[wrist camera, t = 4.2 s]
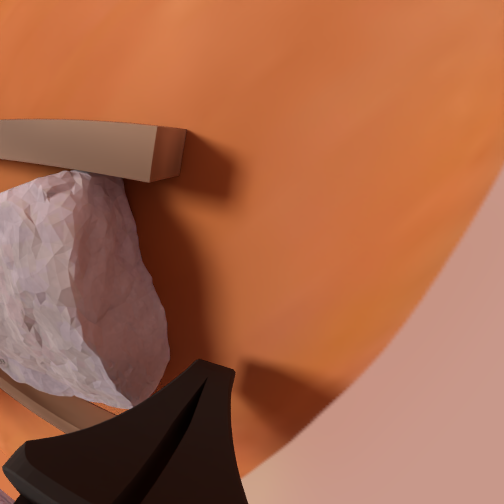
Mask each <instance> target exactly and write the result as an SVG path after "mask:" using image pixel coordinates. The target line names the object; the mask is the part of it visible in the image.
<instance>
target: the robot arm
mask: <svg viewBox="0 0 504 504" xmlns="http://www.w3.org/2000/svg"><path fill="white" fill-rule="evenodd" d="M235 373H236V372H235V371H234V370H233V369H231V368H227V367H224V366H221V365H217V364H214V363H211V362H208V361H204V360H201V359H198V360H196V361H195V362H193V363H192V364H191V365H190V366H189V367H188V368H187V369H186V370H185V371H184V372H182V373H181V374H180V375H179V376H178V377H176V378H175V379H174V380H173V381H171V382H170V383H169V384H167V385H166V386H165V387H163V388H162V389H161V390H159V391H158V392H157V393H155V394H154V395H152V396H150V397H149V398H147V399H146V400H144V401H143V402H141V403H140V404H138V405H136V406H134V407H133V408H131V409H129V410H127V411H125V412H123V413H121V414H119V415H117V416H115V417H113V418H111V419H108V420H106V421H104V422H101V423H99V424H96V425H94V426H91V427H88V428H85V429H81V430H78V431H75V432H71V433H68V434H64V435H60V436H55V437H49V438H43V439H37V440H30V441H26V442H25V443H24V444H23V445H22V446H20V447H19V448H18V449H17V450H16V451H15V453H14V454H13V455H12V456H11V457H10V458H9V460H8V461H7V462H6V463H5V464H4V465H3V467H2V468H3V472H4V474H5V476H6V477H7V478H8V479H9V481H10V482H11V483H12V485H13V486H14V487H15V488H16V489H17V491H18V492H19V493H20V496H19V497H18V498H17V500H16V501H14V500H13V499H12V498H10V497H9V496H8V495H7V494H6V493H4V492H3V491H2V490H1V489H0V504H248V502H247V499H246V495H245V492H244V489H243V486H242V482H241V479H240V475H239V471H238V467H237V462H236V457H235V452H234V446H233V438H232V428H231V391H232V386H233V382H234V378H235Z"/></svg>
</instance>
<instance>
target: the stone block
mask: <svg viewBox="0 0 504 504" xmlns="http://www.w3.org/2000/svg"><path fill="white" fill-rule="evenodd" d="M169 360H170V348H169V344H168V336H167V320H166V316H165V310H164V307H163V306H162V304H161V302H160V299H159V297H158V295H157V293H156V291H155V288H154V286H153V283H152V277H151V275H150V274H149V272H148V271H147V269H146V267H145V266H144V264H143V262H142V258H141V253H140V249H139V240H138V235H137V230H136V224H135V220H134V218H133V215H132V212H131V209H130V206H129V203H128V200H127V197H126V194H125V190H124V183H123V179H122V177H116V176H110V175H105V174H99V173H93V172H87V171H81V170H72V171H62V172H59V173H57V174H52V175H48V176H45V177H40V178H36V179H34V180H32V181H30V182H28V183H25V184H22V185H19V186H17V187H14V188H11V189H9V190H7V191H4V192H2V193H0V368H1V369H2V370H3V371H4V372H5V373H7V374H8V375H9V376H10V377H11V378H12V379H14V380H15V381H16V382H19V383H26V384H28V385H30V386H32V387H33V388H35V389H37V390H39V391H42V392H45V393H48V394H52V395H57V396H69V397H72V396H74V395H75V396H77V397H79V398H82V399H84V400H87V401H92V402H98V403H104V404H106V405H108V406H112V407H116V408H123V409H131V408H133V407H134V406H136V405H138V404H140V403H141V402H143V401H144V400H146V399H147V398H149V397H150V395H151V394H152V393H153V392H154V391H155V390H156V388H157V386H158V385H159V382H160V380H161V378H162V377H163V374H164V372H165V369H166V366H167V364H168V362H169Z"/></svg>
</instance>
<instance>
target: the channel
mask: <svg viewBox="0 0 504 504" xmlns="http://www.w3.org/2000/svg"><path fill="white" fill-rule="evenodd" d="M186 131H187V129H180V128H172V127H164V126H155V125H145V124H135V123H123V122H109V121H93V120H69V119H8V120H0V159H6V160H13V161H21V162H28V163H35V164H42V165H49V166H55V167H62V168H68V169H75V170H81V171H87V172H93V173H99V174H105V175H110V176H116V177H122V178H127V179H132V180H138V181H143V182H149V183H150V182H154V181H158V180H162V179H166V178H171V177H175V176H179V174H180V167H181V161H182V155H183V149H184V143H185V137H186ZM0 388H1V389H2V390H3V391H5V392H6V393H7V394H9V395H10V396H11V397H12V398H14V399H15V400H17V401H18V402H19V403H21V404H22V405H23V406H25V407H26V408H28V409H29V410H30V411H32V412H33V413H35V414H36V415H38V416H39V417H41V418H42V419H44V420H45V421H47V422H48V423H50V424H51V425H53V426H55V427H56V428H58V429H59V430H61V431H63V432H64V433H66V434H68V433H71V432H75V431H78V430H81V429H85V428H88V427H91V426H94V425H96V424H99V423H101V422H104V421H106V420H108V419H111V418H113V417H115V416H116V415H114V414H112V413H110V412H108V411H105V410H103V409H101V408H99V407H97V406H95V405H93V404H91V403H89V402H88V401H86V400H84V399H82V398H79V397H77V396H75V395H74V396H72V397H69V396H57V395H52V394H48V393H45V392H42V391H39V390H37V389H35V388H33V387H32V386H30V385H28V384H26V383H19V382H16V381H15V380H14V379H12V378H11V377H10V376H9V375H8V374H7V373H5V372H4V371H3V370H2V369H1V368H0Z"/></svg>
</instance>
